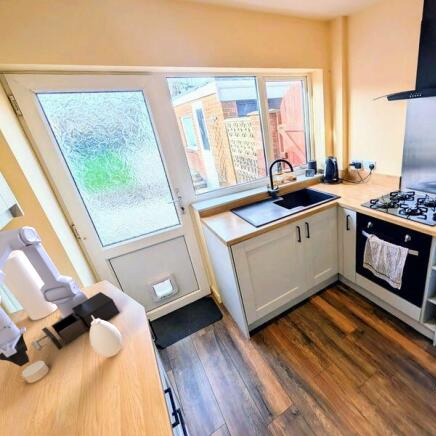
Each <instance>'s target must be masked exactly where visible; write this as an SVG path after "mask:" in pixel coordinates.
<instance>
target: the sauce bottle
mask: <svg viewBox="0 0 436 436" xmlns="http://www.w3.org/2000/svg"><path fill="white" fill-rule="evenodd" d="M92 318H93V321H92V322H91V328H90V330H89V343H90V345H91V348H92V349H93V351H94V352H95V353H96V354H97V355H98V356H100V357H103V358H111V357H114V356H115V355H117V354H118V353H119V352H120V351H121V349H122V347H123V338H122V337H123V336H122V335H121V332H120V331H119V329H118V328H117V327H116V326H115V325H114V324H112V323H111V322H109V321H104V320H100V319H95V318H94V317H93V316H92Z"/></svg>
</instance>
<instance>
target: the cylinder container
mask: <svg viewBox="0 0 436 436" xmlns="http://www.w3.org/2000/svg"><path fill="white" fill-rule="evenodd" d="M1 271H2V272H3V273H4V274H5V277H4V280H3V282H2V283H3V284H4V285H5V287H6V288H7V289H8V290H9V292H10V293H11V295H12V296H13V297H14V298H15V300H16V301H17V303H18V304H19V305H20V306H21V308H22V309H23V311H24V312H25V313H26V314H27V316H28V317H29V319H30V320H32V321H38V320H41V319H43V318H46V317H48V316H50V315H51V314H53V313H54V312H55V311H57V309H58V308H57V306H56V305H55V304H52V303H51V302H46V301H45V300H44V299H43V295H42V292H41V290H40V289H41V287H42V286H43V284H44V282H43V281H42V279H41V278H40V276H39V275H38V273H37V272H36V270H35V269H34V267H33V266H32V264H31V263H30V261H29V260H28V258H27V257H26V255H25V254H24V252H23V251H22V250H14V251H12V252H11V254H10V256H9V257H8V259H7V261H6V263H5V265H4V267H3V269H2V270H1Z"/></svg>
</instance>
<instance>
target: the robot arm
mask: <svg viewBox="0 0 436 436" xmlns="http://www.w3.org/2000/svg"><path fill="white" fill-rule="evenodd" d="M15 250H22V252H23V253H24V255H25V256H26V258H27V259H28V261H29V262H30V264H31V265H32V267H33V268H34V270H35V271H36V272H37V274H38V275H39V277H40V278H41V280H42V281H43V283H44V284H43V286H42V287H41V289H40V290H41V292H42V295H43V299H44V300H45V301H46V302H51V303H52V304H55V305H56V306H57V309H58V311H59V313H60V314H61V315H60V319H63V318H65V317H66V316H68V315H70V314H71V313H74V312H73V310H72V308H74V307H75V306H77V305H79V304H80V303H82V302H84V301H86V300H87V299H89V298H88V297H87V295H86V293H85V292H84V291H82V289H80V287H79V284H78V283H77V282H76V281H75V280H74V279H73V278H72V276H67V275H61V273H59V272H60V271H58V269H57V267H56V265H55V264H54V262H53V260H52V259H51V257H50V256H49V254H48V253H47V251H46V249H45V248H44V247H43V245H42V239H41V238H40V236H39V234H38V232H37V231H36V229H35V227H31V226H27V225H26V226H22V227H18V228H13V229H8V230H3V231H2V230H1V231H0V288H1V287H2V285H3V283H4V282H3V280H4V277H5V274H4V273H3V272H2V271H1V270H2V269H3V267H4V265H5V263H6V261H7V259H8V257H9V256H10V254H11V252H12V251H15ZM1 294H2V292H1V290H0V361H5V362H10V363H13V364H14V365H15V366H17V367H21V368H22V367H23V366H25V365H26V364H28V363H30V357H29V356H28V353H27V352H28V346H27V343H26V341H25V339H24V334H25V333H26V332H27V328H26V327H22V328H19V327H18V326H17V325H16V324H15V323H14V321H13V320H12V319H11V317H10V316H9V315H8V314H7V313H6V311H5V310H4V309H3V307H2V306H1V304H2V295H1ZM74 314H75V313H74Z"/></svg>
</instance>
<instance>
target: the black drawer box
mask: <svg viewBox="0 0 436 436" xmlns="http://www.w3.org/2000/svg"><path fill="white" fill-rule="evenodd" d="M72 310H73V312H74V313H75V314H76V315H77V316H78V317H80V318H81V319H82V320H83V322H84V324H85V325H86V327H87V328H88V329H87V330H89V331H90V328H91V322H92V321H93V318H92V316H93V317H94V318H95V319H100V320H104V321H107V322H109V321H110V320H111V319H113V318H114V317H116V316H117V315H119V314H120V310H119V309H118V307H117V305H116V303H115V301H114V299H113V298H112V297H110V296H108V295H106V294H105V293H104V292H101V291H99V292H97V293H96V294H94V295H92V296H91V297H89V298H88V299H87V300H86V301H84V302H82V303H80V304H79V305H77V306H75V307H74V308H72Z"/></svg>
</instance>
